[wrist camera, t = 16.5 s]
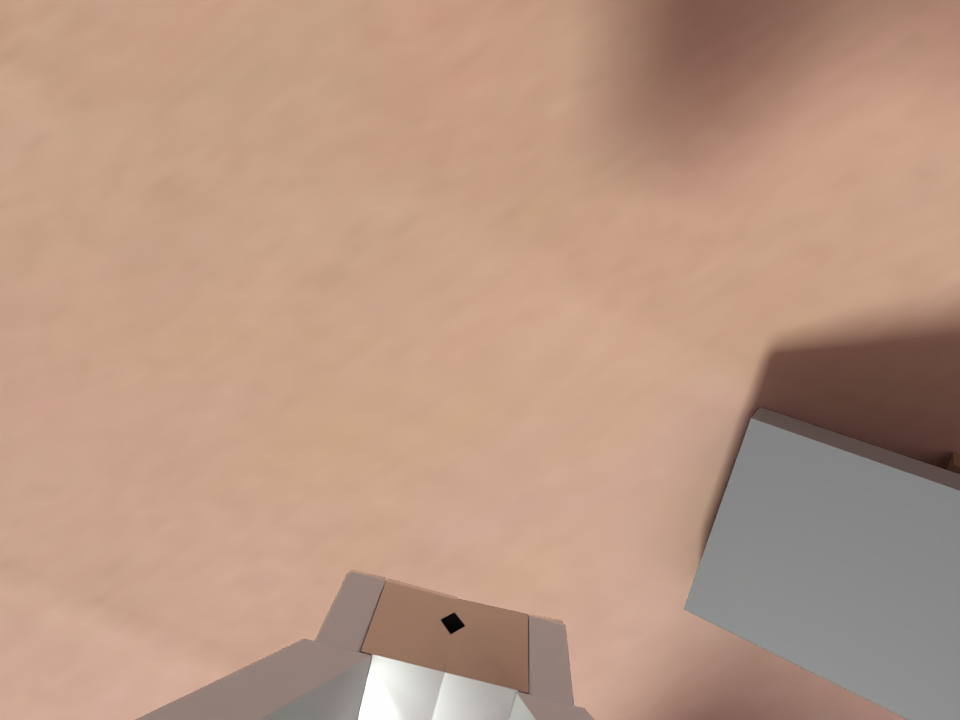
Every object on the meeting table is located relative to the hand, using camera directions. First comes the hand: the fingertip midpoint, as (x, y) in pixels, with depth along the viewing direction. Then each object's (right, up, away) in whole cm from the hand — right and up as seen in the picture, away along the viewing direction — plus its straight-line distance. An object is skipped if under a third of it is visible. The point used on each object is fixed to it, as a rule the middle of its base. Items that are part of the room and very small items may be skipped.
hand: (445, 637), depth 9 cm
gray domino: (+6, 0, +7) cm, 10 cm away
